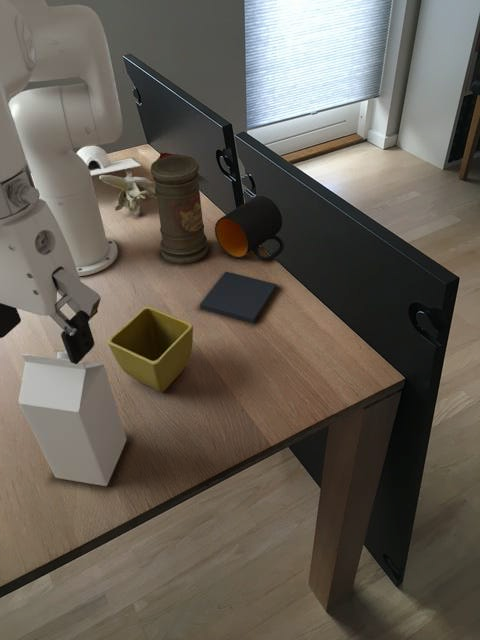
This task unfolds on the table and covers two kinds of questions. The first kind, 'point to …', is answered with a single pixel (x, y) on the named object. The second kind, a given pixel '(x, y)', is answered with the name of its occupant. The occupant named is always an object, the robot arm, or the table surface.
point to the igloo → (103, 161)
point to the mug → (250, 228)
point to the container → (179, 209)
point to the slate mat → (239, 297)
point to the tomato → (166, 155)
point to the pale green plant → (130, 190)
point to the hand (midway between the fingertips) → (45, 341)
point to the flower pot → (153, 347)
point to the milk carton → (72, 417)
